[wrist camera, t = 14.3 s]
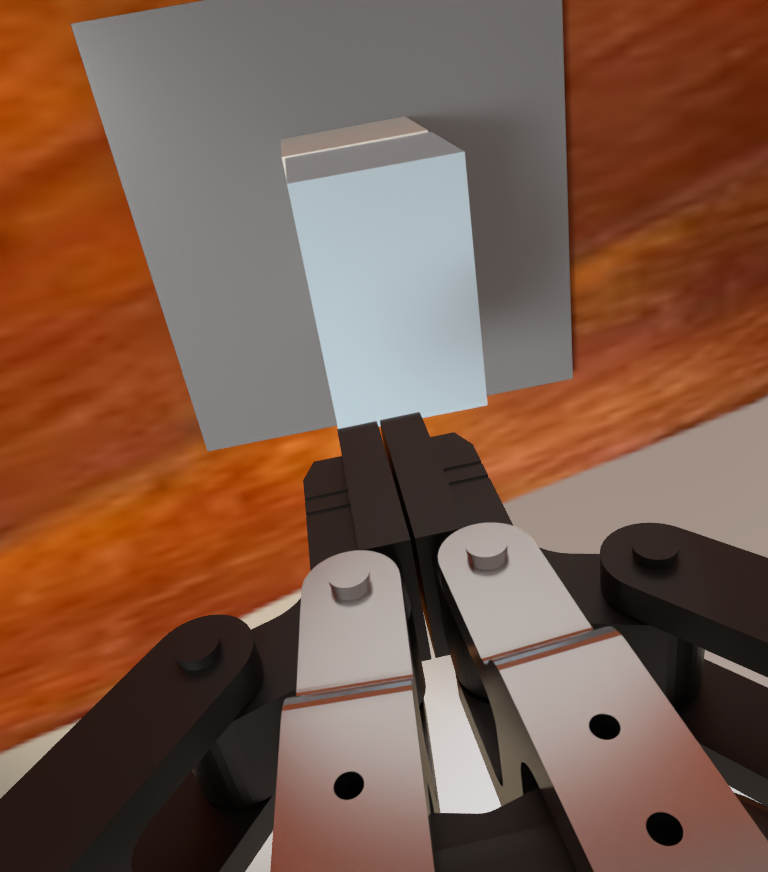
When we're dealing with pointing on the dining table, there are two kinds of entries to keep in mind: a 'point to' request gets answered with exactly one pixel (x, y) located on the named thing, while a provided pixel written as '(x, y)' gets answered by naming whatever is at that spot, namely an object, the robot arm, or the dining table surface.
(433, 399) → the pale blue brick
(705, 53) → the dining table surface
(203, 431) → the charcoal baseplate
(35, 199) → the dining table surface
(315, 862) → the robot arm
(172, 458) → the dining table surface
